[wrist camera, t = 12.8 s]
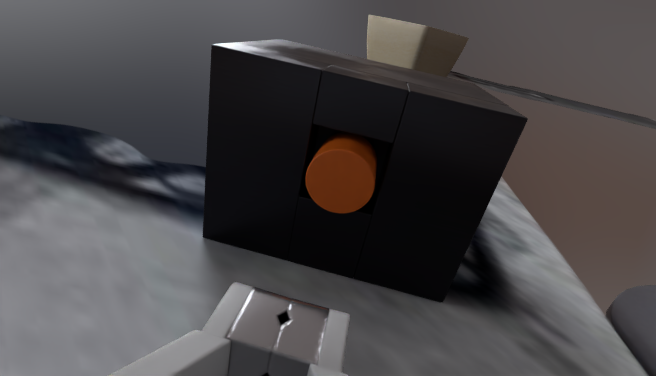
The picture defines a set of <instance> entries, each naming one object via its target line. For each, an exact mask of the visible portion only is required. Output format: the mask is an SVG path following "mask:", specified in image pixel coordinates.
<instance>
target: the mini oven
mask: <svg viewBox="0 0 656 376" xmlns="http://www.w3.org/2000/svg"><path fill="white" fill-rule="evenodd" d="M526 122H527V118H526V117H525V116H523V115H522V114H520V113H518V112H517V111H515V110H514V109H512V108H511V107H509V106H508V105H506V104H505V103H503V102H502V101H500V100H499V99H497V98H495V97H494V96H492V95H491V94H489V93H488V92H486V91H485V90H483V89H482V88H480V87H478V86H477V85H475V84H473V83H469V82H464V81H460V80H456V79H451V78H447V77H443V76H438V75H434V74H430V73H425V72H421V71H417V70H412V69H408V68H404V67H399V66H395V65H391V64H386V63H382V62H377V61H373V60H369V59H364V58H360V57H355V56H351V55H347V54H342V53H338V52H334V51H329V50H325V49H321V48H317V47H312V46H308V45H304V44H299V43H295V42H290V41H286V40H282V39H277V40H264V41H250V42H237V43H225V44H224V43H223V44H212V50H211V71H210V94H209V114H208V136H207V157H206V158H207V159H206V178H205V200H204V221H203V238H207V239H211V240H214V241H218V242H222V243H225V244H229V245H233V246H236V247H240V248H244V249H247V250H251V251H255V252H258V253H262V254H266V255H269V256H273V257H277V258H280V259H284V260H288V261H291V262H295V263H298V264H302V265H306V266H309V267H313V268H317V269H320V270H324V271H328V272H331V273H335V274H339V275H342V276H346V277H350V278H353V277H354V278H355V279H358V280H362V281H365V282H369V283H373V284H376V285H380V286H384V287H387V288H391V289H395V290H398V291H402V292H406V293H409V294H413V295H417V296H420V297H424V298H428V299H431V300H435V301H439V302H443V301H444V298H445V296H446V294H447V292H448V290H449V288H450V285H451V283H452V281H453V279H454V277H455V275H456V273H457V270H458V268H459V266H460V264H461V262H462V260H463V258H464V255H465V253H466V251H467V249H468V247H469V245H470V242H471V240H472V238H473V236H474V234H475V232H476V230H477V227H478V225H479V223H480V221H481V219H482V217H483V215H484V212H485V210H486V208H487V206H488V204H489V202H490V199H491V197H492V195H493V193H494V191H495V189H496V187H497V184H498V182H499V180H500V178H501V176H502V173H503V171H504V169H505V167H506V165H507V163H508V161H509V158H510V156H511V154H512V152H513V150H514V148H515V145H516V144H517V141H518V139H519V137H520V135H521V133H522V131H523V129H524V126H525V124H526ZM341 132H347V133H351V134H355V135H359V136H362V137H364V138H365V139H366V140H368V141H369V142H370V143H371V145H372V146H373V148H374V150H375V152H376V156H377V170H376V179H375V188H374V192H373V195H372V197H371V198H370V200H369V201H368V202H367V203H366V204H365V205H364V206H363V207H362V208H360V209H358V210H356V211H354V212H350V213H334V212H330V211H327V210H325V209H323V208H322V207H320V206H319V205H318V204H317V203H315V202H314V200H313V199H312V198H311V196H310V195H309V192H308V190H307V187H306V172H307V169H308V166H309V165H310V163H311V161H312V160H313V158H314V156H315V155H316V153H317V152H318V150H319V148H320V147H321V145H322V144H323V142H324V141H325V140H326V139H327V138H329V137H330V136H332V135H334V134H337V133H341Z"/></svg>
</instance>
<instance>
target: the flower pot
mask: <svg viewBox="0 0 656 376" xmlns="http://www.w3.org/2000/svg"><path fill="white" fill-rule="evenodd" d="M467 41H468V38H467V37H464V36H460V35H456V34H453V33H450V32H446V31H443V30H439V29H436V28H432V27H429V26H424V25H419V24H414V23H410V22H404V21H400V20H394V19H389V18H384V17H378V16H373V15H369V19H368V32H367V59H369V60H373V61H377V62H382V63H386V64H391V65H395V66H399V67H404V68H408V69H412V70H417V71H421V72H425V73H430V74H434V75H438V76H443V77H447V75H448V74H449V72H450V71H451V69H452V68H453V66H454V64H455V62H456V61H457V59H458V58H459V56H460V54H461V52H462V50H463V49H464V47H465V45H466V43H467Z"/></svg>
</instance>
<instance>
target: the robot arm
mask: <svg viewBox="0 0 656 376" xmlns="http://www.w3.org/2000/svg"><path fill="white" fill-rule="evenodd" d="M349 323H350V315H349V314H348V313H344V312H340V311H337V310H333V309H330V310H329V308H325V307H322V306H318V305H314V304H311V303H307V302H303V301H300V300H296V299H291V298H288V297H285V296H281V295H278V294H275V293H272V292H269V291H265V290H262V289H259V288H256V287H251V286H248V285H245V284H241V283H238V282H234V283H233V284H232V285H231V286H230V287H229V289H228V290H227V292H226V293H225V295H224V297H223V298H222V300H221V301H220V303H219V304H218V306H217V308H216V309H215V311H214V312H213V314H212V315H211V317H210V318H209V320H208V322H207V323H206V325H205V326H204V328H203V329H202V331H199V330H194V331H192V332H190V333H188V334H186V335H184V336H182V337H180V338H178V339H177V340H175V341H173V342H171V343H169V344H167V345H165V346H163V347H161V348H159V349H158V350H156V351H154V352H152V353H150V354H148V355H146V356H144V357H142V358H140V359H139V360H137V361H135V362H133V363H131V364H129V365H127V366H125V367H123V368H121V369H120V370H118V371H116V372H114V373H112V374H110V375H108V376H349V375H347V374H344V373H342V371H343V364H344V357H345V350H346V343H347V337H348V330H349Z"/></svg>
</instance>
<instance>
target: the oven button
mask: <svg viewBox="0 0 656 376" xmlns="http://www.w3.org/2000/svg"><path fill="white" fill-rule="evenodd" d="M376 170H377V156H376V152H375V150H374V148H373V146H372V145H371V143H370V142H369V141H368V140H366V139H365V138H364V137H362V136H359V135H355V134H351V133H347V132H341V133H337V134H334V135H332V136H330V137H329V138H327V139H326V140H325V141H324V142H323V144H322V145H321V147H320V148H319V150H318V152H317V153H316V155H315V156H314V158H313V160H312V161H311V163H310V165H309V166H308V169H307V172H306V187H307V190H308V192H309V195H310V196H311V198H312V199H313V200H314V202H315V203H317V204H318V205H319V206H320V207H322V208H323V209H325V210H327V211H330V212H334V213H350V212H354V211H356V210H358V209H360V208H362V207H363V206H364V205H365V204H366V203H367V202H368V201H369V200H370V198H371V197H372V195H373V192H374V188H375V179H376Z"/></svg>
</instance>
